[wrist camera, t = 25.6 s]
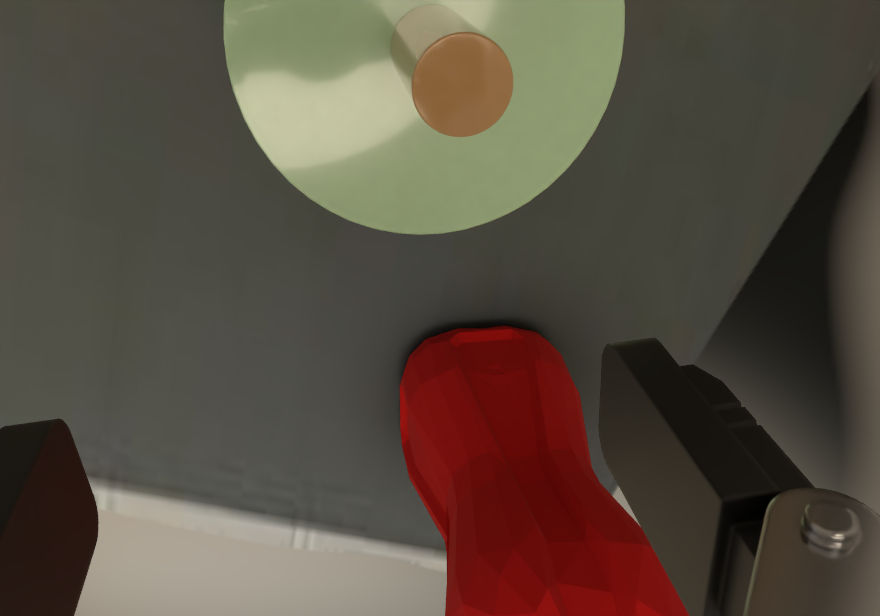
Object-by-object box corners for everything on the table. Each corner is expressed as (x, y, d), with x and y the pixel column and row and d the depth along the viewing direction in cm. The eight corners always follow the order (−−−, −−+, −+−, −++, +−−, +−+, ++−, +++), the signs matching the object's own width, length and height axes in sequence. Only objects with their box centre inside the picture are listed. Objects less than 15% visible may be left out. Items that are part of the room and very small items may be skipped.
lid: (262, 241, 27) (251, 334, 22) (187, -177, 21) (144, -203, 15) (603, 204, 29) (678, 281, 23) (625, -199, 23) (734, -231, 17)
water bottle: (398, 480, 47) (480, 988, 25) (396, 323, 42) (496, 792, 20) (545, 466, 48) (744, 938, 26) (560, 313, 43) (823, 742, 21)
